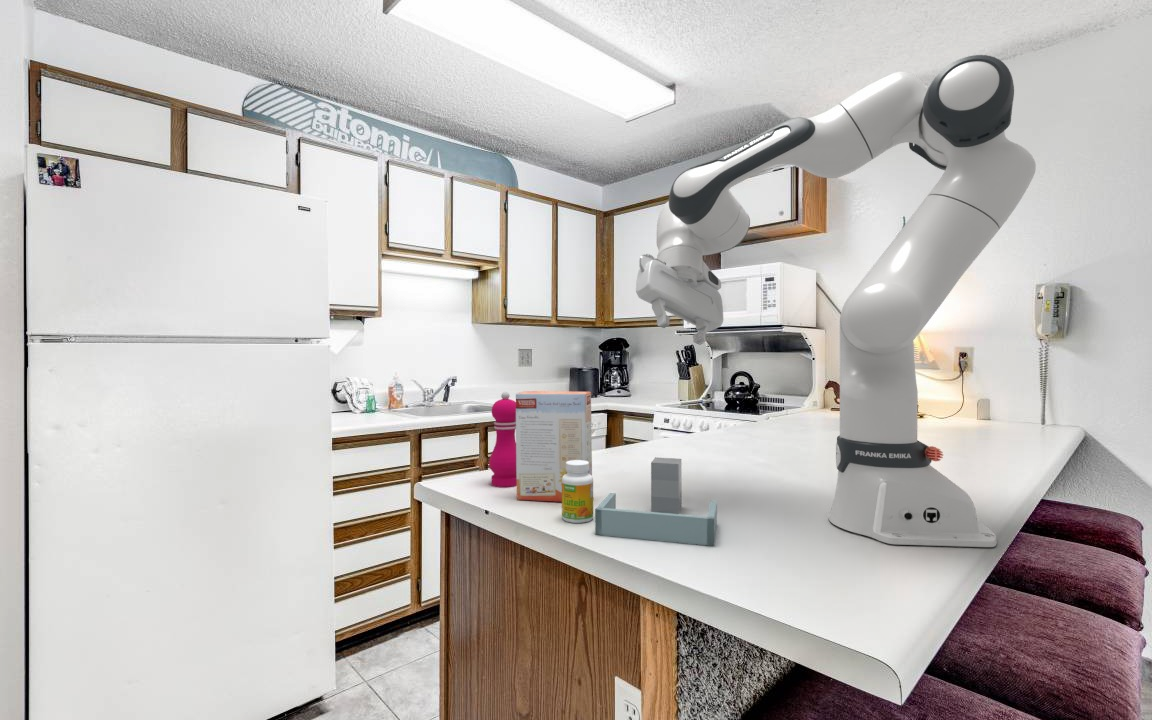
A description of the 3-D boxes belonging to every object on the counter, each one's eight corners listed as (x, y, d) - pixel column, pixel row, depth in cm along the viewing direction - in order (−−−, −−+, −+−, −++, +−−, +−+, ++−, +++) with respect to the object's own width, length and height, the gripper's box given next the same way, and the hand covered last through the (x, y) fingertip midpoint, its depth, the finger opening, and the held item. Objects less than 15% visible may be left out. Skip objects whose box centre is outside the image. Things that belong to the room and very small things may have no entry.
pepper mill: (520, 488, 113) (519, 393, 113) (486, 487, 113) (485, 393, 113) (524, 479, 120) (523, 390, 120) (492, 479, 121) (491, 390, 120)
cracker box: (593, 496, 106) (592, 390, 106) (586, 504, 101) (586, 393, 100) (525, 492, 110) (524, 389, 109) (515, 500, 104) (514, 392, 103)
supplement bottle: (559, 522, 90) (558, 465, 90) (565, 513, 95) (564, 458, 95) (591, 524, 89) (590, 466, 89) (595, 514, 94) (595, 459, 94)
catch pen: (716, 525, 88) (716, 500, 88) (714, 546, 79) (714, 519, 79) (610, 515, 94) (610, 492, 94) (595, 534, 84) (595, 509, 84)
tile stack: (681, 507, 98) (681, 458, 98) (678, 515, 94) (678, 464, 94) (655, 505, 100) (655, 457, 100) (651, 513, 95) (651, 462, 95)
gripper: (652, 241, 97) (652, 307, 91) (726, 284, 107) (731, 346, 101) (628, 258, 101) (627, 321, 95) (702, 297, 112) (705, 357, 106)
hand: (681, 334), depth 98 cm, fingers open, 8 cm apart
